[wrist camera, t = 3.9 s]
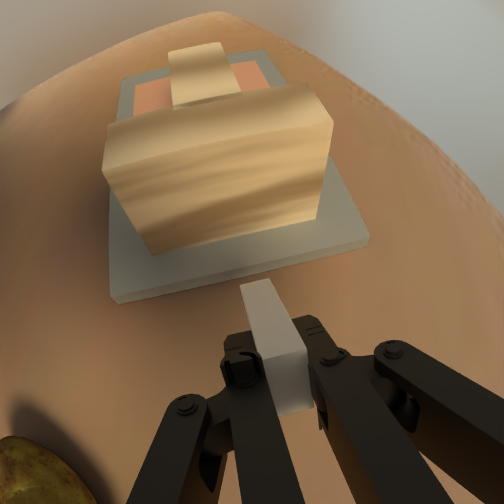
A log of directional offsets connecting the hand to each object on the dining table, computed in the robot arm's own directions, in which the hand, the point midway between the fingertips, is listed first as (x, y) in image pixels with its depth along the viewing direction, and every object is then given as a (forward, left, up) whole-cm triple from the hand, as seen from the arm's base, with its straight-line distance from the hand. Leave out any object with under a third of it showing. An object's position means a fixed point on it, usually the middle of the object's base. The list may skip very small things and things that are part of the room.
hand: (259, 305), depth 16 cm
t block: (-11, +6, -4) cm, 13 cm away
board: (-17, +9, -6) cm, 20 cm away
